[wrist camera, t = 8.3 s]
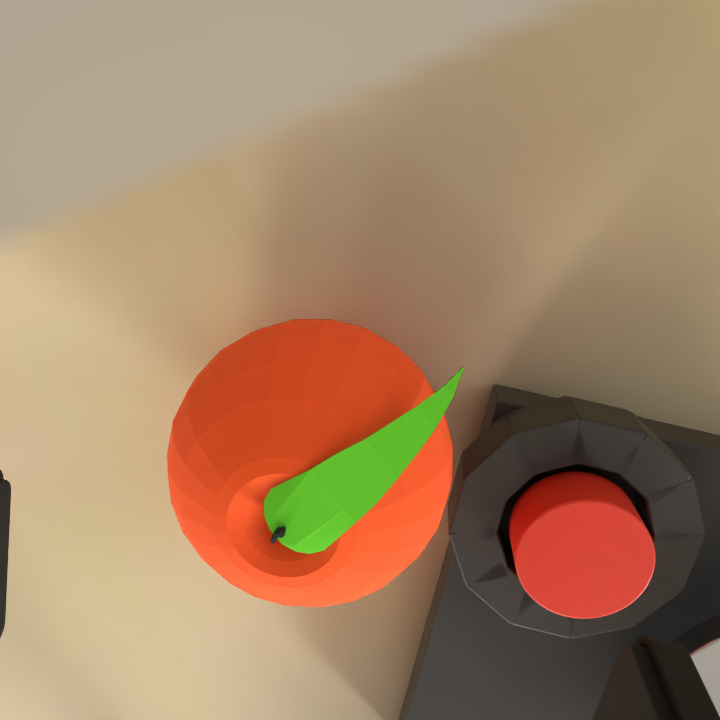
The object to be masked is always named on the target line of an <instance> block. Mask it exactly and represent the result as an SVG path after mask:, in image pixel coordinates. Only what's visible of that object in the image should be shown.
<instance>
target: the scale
mask: <svg viewBox="0 0 720 720" xmlns="http://www.w3.org/2000/svg"><path fill="white" fill-rule="evenodd" d="M572 471H577V472H587V473H592V474H595V475H599V476H601V477H604V478H606V479H608V480H610V481H611V482H613V483H615V484H616V485H617V486H618V487H620V488H621V489H622V490H623V491H624V492H625V493H626V494H627V496H628V497H629V499H630V500H631V502H632V504H633V505H634V507H635V509H636V510H637V512H638V514H639V516H640V517H641V519H642V521H643V523H644V524H645V526H646V528H647V530H648V532H649V534H650V535H651V537H652V540H653V543H654V547H655V567H654V572H653V575H652V578H651V580H650V582H649V584H648V586H647V587H646V589H645V590H644V592H643V593H642V594H641V595H640V596H639V597H638V598H637V599H636V600H635V601H634V602H632V603H631V604H630V605H628V606H627V607H625V608H623V609H622V610H620V611H618V612H615V613H613V614H610V615H607V616H603V617H597V618H587V619H581V618H571V617H566V616H562V615H559V614H556V613H554V612H551V611H549V610H547V609H546V608H544V607H542V606H541V605H540V604H538V603H537V602H536V601H534V600H533V599H532V598H531V597H530V596H529V595H528V593H527V592H526V591H525V589H524V588H523V586H522V584H521V583H520V581H519V578H518V575H517V572H516V567H515V562H514V557H513V552H512V546H511V541H510V536H509V521H510V516H511V513H512V510H513V508H514V506H515V504H516V502H517V500H518V499H519V498H520V496H521V495H522V494H523V493H524V492H525V491H526V490H527V489H528V488H529V487H530V486H532V485H533V484H534V483H536V482H538V481H539V480H541V479H543V478H545V477H548V476H550V475H554V474H557V473H562V472H572ZM448 520H449V536H450V541H449V544H448V548H447V551H446V555H445V558H444V562H443V565H442V569H441V572H440V576H439V579H438V583H437V587H436V590H435V594H434V597H433V601H432V604H431V608H430V611H429V615H428V618H427V622H426V625H425V629H424V633H423V636H422V640H421V643H420V647H419V650H418V654H417V657H416V661H415V664H414V668H413V671H412V675H411V678H410V682H409V686H408V689H407V693H406V696H405V700H404V703H403V707H402V710H401V714H400V717H399V720H592V718H593V716H594V713H595V711H596V708H597V706H598V703H599V701H600V698H601V696H602V693H603V691H604V688H605V686H606V683H607V681H608V678H609V676H610V673H611V671H612V668H613V666H614V663H615V661H616V658H617V656H618V653H619V651H620V649H621V647H622V645H623V644H624V643H626V642H629V643H633V644H634V643H635V641H636V639H637V638H638V637H639V636H643V635H644V636H648V637H652V638H656V639H660V640H664V641H668V642H671V641H672V640H674V639H675V638H677V637H678V636H680V635H682V634H683V633H685V632H686V631H688V630H689V629H691V628H693V627H694V626H696V625H697V624H699V623H701V622H704V621H706V620H708V619H710V618H712V617H714V616H716V615H718V614H720V436H718V435H714V434H710V433H705V432H701V431H697V430H692V429H688V428H684V427H679V426H675V425H671V424H666V423H662V422H658V421H653V420H649V419H644V418H640V417H636V416H635V415H634V414H633V413H631V412H629V411H627V410H625V409H621V408H616V407H612V406H608V405H603V404H599V403H595V402H590V401H586V400H582V399H577V398H573V397H568V398H567V396H564V397H560V398H553V397H549V396H545V395H540V394H536V393H532V392H527V391H523V390H519V389H514V388H510V387H506V386H501V385H497V384H494V386H493V389H492V392H491V396H490V399H489V403H488V406H487V410H486V413H485V417H484V420H483V424H482V427H481V431H480V434H479V437H478V438H477V439H476V440H475V441H474V442H472V443H471V444H470V445H469V446H468V447H467V448H466V449H465V450H464V451H463V454H462V455H461V458H460V462H459V465H458V469H457V472H456V476H455V480H454V483H453V487H452V491H451V494H450V498H449V501H448Z"/></svg>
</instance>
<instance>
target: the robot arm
mask: <svg viewBox="0 0 720 720" xmlns="http://www.w3.org/2000/svg"><path fill="white" fill-rule="evenodd" d="M10 500H11V486H10V483H9V482H8V481H7V480H4V479H3V474H2V472H1V470H0V637H1V635H2V632H3V629H4V625H5V612H6V590H7V567H8V545H9V523H10ZM592 720H720V716H719V714H718V712H717V710H716V708H715V706H714V704H713V702H712V700H711V697H710V695H709V693H708V691H707V689H706V687H705V685H704V683H703V681H702V679H701V677H700V675H699V672H698V670H697V668H696V666H695V664H694V662H693V660H692V658H691V656H690V654H689V652H688V651H687V649H686V648H685V647H684V646H682V645H679V644H675V643H671V642H668V641H664V640H660V639H656V638H652V637H648V636H644V635H643V636H639V637H638V638H637V639H636V641H635V643H634V644H633V643H629V642H626V643H624V644H623V645H622V647H621V649H620V651H619V653H618V656H617V658H616V661H615V663H614V666H613V668H612V671H611V673H610V676H609V678H608V681H607V683H606V686H605V688H604V691H603V693H602V696H601V698H600V701H599V703H598V706H597V708H596V711H595V713H594V716H593V718H592Z"/></svg>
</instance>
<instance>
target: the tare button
mask: <svg viewBox="0 0 720 720" xmlns="http://www.w3.org/2000/svg"><path fill="white" fill-rule="evenodd" d="M509 536H510V541H511V546H512V552H513V557H514V562H515V567H516V572H517V575H518V578H519V581H520V583H521V584H522V586H523V588H524V589H525V591H526V592H527V593H528V595H529V596H530V597H531V598H532V599H533V600H534V601H536V602H537V603H538V604H540V605H541V606H542V607H544V608H546V609H547V610H549V611H551V612H554V613H556V614H559V615H562V616H566V617H571V618H581V619H587V618H597V617H603V616H607V615H610V614H613V613H615V612H618V611H620V610H622V609H623V608H625V607H627V606H628V605H630V604H631V603H632V602H634V601H635V600H636V599H637V598H638V597H639V596H640V595H641V594H642V593H643V592H644V590H645V589H646V587H647V586H648V584H649V582H650V580H651V578H652V575H653V572H654V567H655V547H654V543H653V540H652V537H651V535H650V534H649V532H648V530H647V528H646V526H645V524H644V523H643V521H642V519H641V517H640V516H639V514H638V512H637V510H636V509H635V507H634V505H633V504H632V502H631V500H630V499H629V497H628V496H627V494H626V493H625V492H624V491H623V490H622V489H621V488H620V487H618V486H617V485H616V484H615V483H613V482H611V481H610V480H608V479H606V478H604V477H601V476H599V475H595V474H592V473H587V472H577V471H572V472H562V473H557V474H554V475H550V476H548V477H545V478H543V479H541V480H539V481H538V482H536V483H534V484H533V485H532V486H530V487H529V488H528V489H527V490H526V491H525V492H524V493H523V494H522V495H521V496H520V498H519V499H518V500H517V502H516V504H515V506H514V508H513V510H512V513H511V516H510V521H509Z"/></svg>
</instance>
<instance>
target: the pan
mask: <svg viewBox="0 0 720 720" xmlns="http://www.w3.org/2000/svg"><path fill="white" fill-rule="evenodd" d="M671 643H675V644H679V645H682V646H684V647H685V648H686V649H687V651H688V652H689V654H690V656H691V658H692V660H693V662H694V664H695V666H696V668H697V670H698V672H699V675H700V677H701V679H702V681H703V683H704V685H705V687H706V689H707V691H708V693H709V695H710V697H711V700H712V702H713V704H714V706H715V708H716V710H717V712H718V714H719V716H720V614H718V615H716V616H714V617H712V618H710V619H708V620H706V621H704V622H701V623H699V624H697V625H696V626H694V627H693V628H691V629H689V630H688V631H686V632H685V633H683V634H682V635H680V636H678V637H677V638H675V639H674V640H672V641H671Z"/></svg>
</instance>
